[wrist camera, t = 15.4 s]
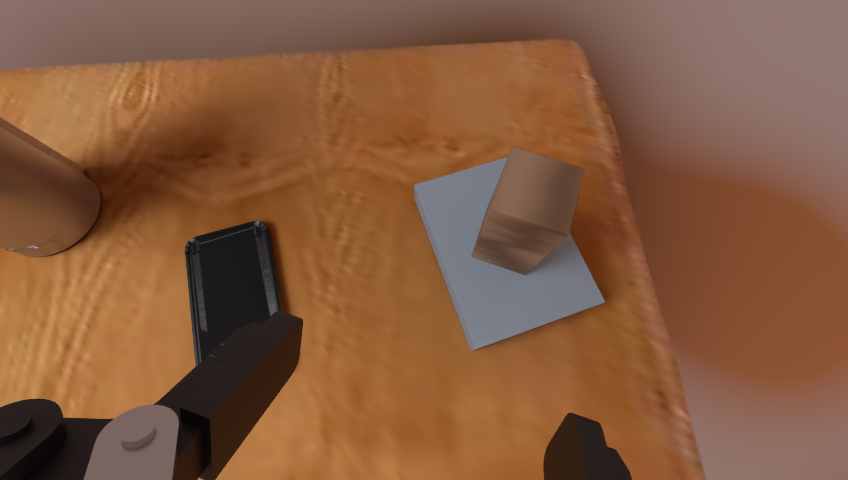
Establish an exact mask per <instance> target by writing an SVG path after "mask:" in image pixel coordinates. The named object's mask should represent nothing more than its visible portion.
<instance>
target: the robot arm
mask: <svg viewBox="0 0 848 480" xmlns="http://www.w3.org/2000/svg"><path fill="white" fill-rule="evenodd" d="M100 205H101V200H100V193H99V191H98V188H97V187H96V185H95V184H94V183H93V182H92V181H91V180H90V179H88V178H87V177H86V176H85V174H84V168H83V167H81V166H80V165H78V164H76V163H75V162H73V161H71V160H70V159H68V158H66V157H65V156H63V155H61V154H60V153H58V152H57V151H55V150H53V149H52V148H50V147H48V146H47V145H45V144H43V143H42V142H40V141H38V140H37V139H35V138H34V137H32V136H30V135H29V134H27V133H25V132H24V131H22V130H20V129H19V128H17V127H15V126H14V125H12V124H10V123H9V122H7V121H6V120H4V119H2V118H1V117H0V248H1V249H5V250H7V251H11V252H15V253H18V254H22V255H26V256H31V257H42V256H47V255H52V254H55V253H57V252H60V251H63V250H65V249H66V248H68V247H70V246H72V245H73V244H75V243H76V242H77V241H79V240H80V239H81V238H82V237H83V236H84V235H85V234H86V233H87V232H88V231H89V230H90V228H91V227H92V225H93V224H94V222H95V221H96V218H97V216H98V214H99V210H100ZM302 328H303V320H302V319H301V318H299V317H296V316H293V315H290V314H287V313H284V312H281V311H276V312H275V313H273V314H272V315H271V316H270V317H269V318H268V319H267V320H266V321H265V322H264V323H263V324H259V323H256V322H252V323H250V324H248V325H246V326H243V327H241V328H239V329H237V330H235V331H234V332H233V333H232V334H231V335H230V336H229V337H228V338H227V339H225V340H224V341H223V342H222V343H221V345H220V346H218V347H217V348H216V349H215V350H213V351H212V352H211V353H210V355H209V357H206V358H205V359H204V360H203V361H202V362H200V363H199V364H198V365H197V366H196V367H195V368H194V369H193V370H192V371H191V372H190V373H188V374H187V375H186V376H185V377H184V378H183V379H182V380H181V381H180V382H179V383H178V384H177V385H175V386H174V387H173V388H172V389H171V390H170V391H169V392H168V393H167V394H166V395H165V396H164V397H162V398H161V399H160V400H159V401H158V402H156V403H155V404H153V405H146V406H141V407H137V408H134V409H131V410H129V411H127V412H124V413H123V414H121V415H119V416H117V417H116V418H115V419H87V418H63V414H62V411H61V408H60V407H59V405H58V404H56V403H55V402H53V401H51V400H46V399H28V400H22V401H18V402H14V403H11V404H8V405H5V406H3V407H0V480H197V479H198V478H202V479H204V480H215V479H216V478H217V476H218V475H219V474H220V472H221V471H222V470H223V468H224V467H225V465H226V464H227V463H228V461H229V460H230V459H231V457H232V456H233V455H234V453H235V452H236V450H237V449H238V448H239V446H240V445H241V444H242V442H243V441H244V440H245V438H246V437H247V435H248V434H249V433H250V431H251V430H252V429H253V427H254V426H255V425H256V423H257V422H258V420H259V419H260V418H261V416H262V415H263V414H264V412H265V411H266V409H267V408H268V407H269V405H270V404H271V403H272V401H273V400H274V399H275V397H276V396H277V394H278V393H279V392H280V390H281V389H282V388H283V386H284V385H285V384H286V382H287V381H288V379H289V378H290V377H291V375H292V373H293V372H294V370H295V368H296V365H297V363H298V360H299V355H300V346H301V337H302ZM544 480H632V478H631V475H630V472H629V470H628V468H627V467H626V465H625V464H624V462H623V460H622V459H621V457H620V456H619V454H618V452H617V451H616V450H615V449H613V448H610V447H607V445H606V441H605V437H604V434H603V430H602V427H601V425H600V423H599V422H597V421H594V420H591V419H588V418H585V417H582V416H579V415H576V414H574V413H568V414H567V415H566V417H565V418H564V420H563V422H562V423H561V425H560V426H559V428H558V430H557V431H556V433H555V435H554V436H553V438H552V439H551V441H550V443H549V444H548V446H547V449H546V452H545V456H544Z"/></svg>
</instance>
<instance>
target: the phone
mask: <svg viewBox="0 0 848 480" xmlns="http://www.w3.org/2000/svg"><path fill="white" fill-rule="evenodd" d="M185 255H186V266H187V276H188V287H189V298H190V309H191V320H192V331H193V342H194V353H195V364H196V366H197V365H198V364H199V363H200V362H202V361H203V360H204V359H205V358H206V357H209V355H210V353H211V352H212V351H213V350H215V349H216V348H217V347H218V346H220V345H221V343H222V342H223V341H224V340H225V339H227V338H228V337H229V336H230V335H231V334H232V333H233V332H234V331H235V330H237V329H239V328H241V327H243V326H246V325H248V324H250V323H252V322H256V323H259V324H263V323H264V322H265V321H266V320H267V319H268V318H269V317H270V316H271V315H272V314H273V313H275V312H276V311H281V312H284V310H283V304H282V299H281V293H280V288H279V282H278V276H277V271H276V265H275V259H274V254H273V248H272V242H271V237H270V231H269V229H268V227H267V226H266V225H265V224H264V223H262V222H260V221H252V222H249V223H245V224H241V225H237V226H234V227H230V228H226V229H222V230H219V231H215V232H211V233H207V234H204V235H200V236H196V237H194V238H192V239H191V240H189V242H188V243H187V245H186V247H185Z"/></svg>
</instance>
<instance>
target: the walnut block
mask: <svg viewBox="0 0 848 480" xmlns="http://www.w3.org/2000/svg"><path fill="white" fill-rule="evenodd" d="M584 170H585V169H583V168H580V167H577V166H573V165H570V164H567V163H564V162H560V161H557V160H554V159H551V158H547V157H544V156H541V155H538V154H534V153H531V152H528V151H524V150H521V149H518V148H515V147H512V148H511V151H510V153H509V156H508V158H507V161H506V163H505V165H504V168H503V170H502V173H501V175H500V178H499V180H498V183H497V185H496V187H495V190H494V192H493V195H492V197H491V200H490V202H489V205H488V207H487V210H486V213H485V216H484V219H483V222H482V225H481V228H480V231H479V234H478V236H477V239H476V242H475V245H474V248H473V251H472V254H471V257H473V258H476V259H479V260H482V261H485V262H488V263H490V264H493V265H496V266H499V267H502V268H505V269H508V270H511V271H514V272H517V273H519V274H522V275H526V274H527V273H528V272H529V271H530V270H531V269H533V268H534V267H535V266H536V265H537V264H538V263H539V262H540V261H541V260H542V259H543V258H544V257H546V256H547V255H548V254H549V253H550V252H551V251H552V250H553V249H554V248H555V247H556V246H558V245H559V244H560V243H561V242H562V241H563V240H564V239H565V238H566V237H567V236H568V235H569V233H570V228H571V224H572V220H573V216H574V212H575V208H576V204H577V199H578V195H579V191H580V187H581V183H582V179H583V174H584Z"/></svg>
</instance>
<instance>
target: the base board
mask: <svg viewBox="0 0 848 480" xmlns="http://www.w3.org/2000/svg"><path fill="white" fill-rule="evenodd" d="M507 158H508V157H506V158H503V159H500V160H496V161H493V162H489V163H486V164H483V165H479V166H476V167H473V168H469V169H466V170H463V171H459V172H456V173H453V174H449V175H446V176H442V177H439V178H436V179H432V180H429V181H426V182H422V183H419V184H416V185H414V196H415V201H416V204H417V207H418V210H419V212H420V215H421V218H422V220H423V223H424V226H425V228H426V231H427V234H428V237H429V239H430V242H431V245H432V247H433V250H434V253H435V256H436V258H437V261H438V264H439V266H440V269H441V272H442V274H443V277H444V280H445V283H446V285H447V288H448V291H449V293H450V296H451V299H452V302H453V304H454V307H455V310H456V312H457V315H458V318H459V321H460V323H461V326H462V329H463V331H464V334H465V337H466V339H467V342H468V345H469V348H470V350H471V351H473V350H476V349H479V348H481V347H484V346H487V345H490V344H492V343H495V342H498V341H501V340H504V339H506V338H509V337H512V336H515V335H517V334H520V333H523V332H526V331H528V330H531V329H534V328H537V327H539V326H542V325H545V324H548V323H550V322H553V321H556V320H559V319H561V318H564V317H567V316H570V315H572V314H575V313H578V312H581V311H583V310H586V309H589V308H592V307H594V306H597V305H600V304H602V303H605V300H604V298H603V296H602V294H601V292H600V290H599V288H598V287H597V285H596V283H595V281H594V279H593V277H592V275H591V273H590V271H589V269H588V267H587V265H586V263H585V261H584V259H583V257H582V255H581V253H580V251H579V249H578V247H577V246H576V244H575V242H574V240H573V238H572V236H571V234H570V233H569V235H568V236H567V237H566V238H565V239H564V240H563V241H562V242H561V243H560V244H559V245H558V246H556V247H555V248H554V249H553V250H552V251H551V252H550V253H549V254H548V255H547V256H546V257H544V258H543V259H542V260H541V261H540V262H539V263H538V264H537V265H536V266H535V267H534V268H533V269H531V270H530V271H529V272H528V273H527V274H526V275H522V274H519V273H517V272H514V271H511V270H508V269H505V268H502V267H499V266H496V265H493V264H490V263H488V262H485V261H482V260H479V259H476V258H473V257H471V254H472V251H473V248H474V245H475V242H476V239H477V236H478V234H479V231H480V228H481V225H482V222H483V219H484V216H485V213H486V210H487V207H488V205H489V202H490V200H491V197H492V195H493V192H494V190H495V187H496V185H497V183H498V180H499V178H500V175H501V173H502V170H503V168H504V165H505V163H506V161H507Z"/></svg>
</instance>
